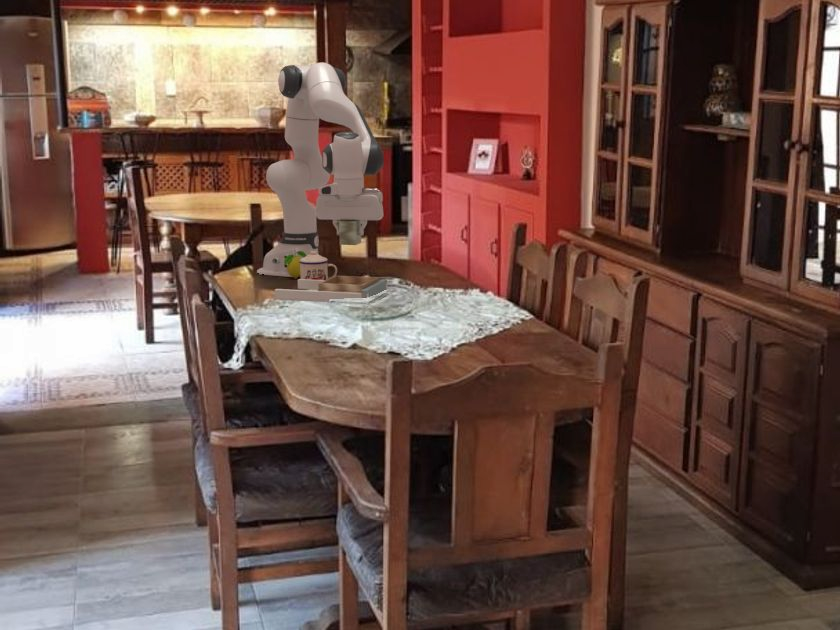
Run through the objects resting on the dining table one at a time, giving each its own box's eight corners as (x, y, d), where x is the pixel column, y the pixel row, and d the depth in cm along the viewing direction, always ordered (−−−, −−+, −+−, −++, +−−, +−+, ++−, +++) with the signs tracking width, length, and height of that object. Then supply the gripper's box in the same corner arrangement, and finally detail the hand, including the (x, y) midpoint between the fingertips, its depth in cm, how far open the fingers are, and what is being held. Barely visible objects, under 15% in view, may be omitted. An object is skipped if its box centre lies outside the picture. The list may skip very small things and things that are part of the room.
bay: (274, 303, 319) (274, 286, 318) (299, 291, 337) (299, 275, 336) (367, 307, 311) (366, 290, 310) (387, 295, 329) (387, 279, 328)
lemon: (308, 277, 363) (307, 247, 361) (303, 280, 357) (303, 250, 355) (288, 277, 364) (287, 247, 361) (284, 280, 358) (283, 250, 356)
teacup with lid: (302, 290, 338) (301, 254, 336) (297, 285, 347) (296, 250, 345) (340, 288, 342) (339, 252, 339) (334, 283, 350) (333, 248, 348)
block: (339, 244, 318) (338, 221, 317) (345, 242, 323) (344, 219, 321) (355, 245, 317) (355, 221, 315) (361, 242, 321) (360, 219, 320)
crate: (318, 299, 318) (318, 283, 317) (335, 291, 331) (335, 275, 330) (363, 301, 314) (363, 285, 313) (379, 293, 327) (378, 277, 326)
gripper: (385, 187, 317) (386, 234, 319) (320, 187, 322) (322, 233, 325) (379, 189, 311) (380, 237, 313) (312, 188, 316) (314, 235, 319)
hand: (350, 235), depth 319 cm, fingers closed on block, 5 cm apart
